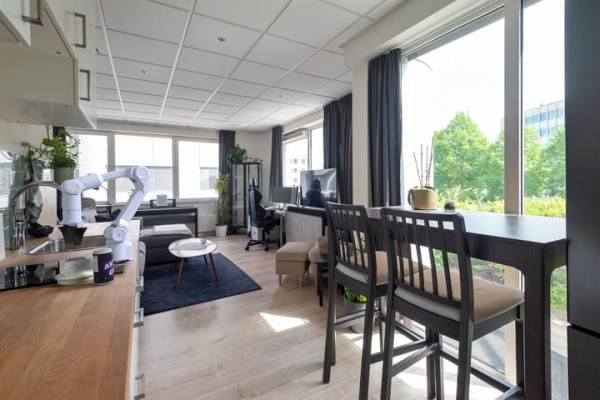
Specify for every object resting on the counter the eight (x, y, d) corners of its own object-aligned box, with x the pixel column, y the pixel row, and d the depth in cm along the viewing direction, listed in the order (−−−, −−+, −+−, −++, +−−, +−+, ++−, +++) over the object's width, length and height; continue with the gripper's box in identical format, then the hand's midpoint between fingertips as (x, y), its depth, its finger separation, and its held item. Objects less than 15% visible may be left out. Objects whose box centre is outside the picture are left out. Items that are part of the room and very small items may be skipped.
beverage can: (106, 286, 92) (104, 250, 92) (89, 286, 93) (87, 250, 92) (117, 280, 98) (116, 246, 97) (102, 280, 98) (100, 246, 98)
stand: (89, 272, 107) (89, 266, 107) (105, 277, 101) (104, 270, 101) (49, 282, 97) (49, 275, 97) (64, 288, 91) (63, 280, 90)
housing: (87, 269, 103) (86, 255, 103) (92, 271, 100) (92, 256, 100) (60, 275, 97) (59, 260, 96) (65, 277, 94) (64, 262, 94)
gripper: (51, 210, 109) (52, 244, 110) (67, 211, 102) (68, 248, 103) (73, 208, 116) (74, 241, 116) (89, 210, 108) (90, 244, 109)
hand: (73, 244), depth 110 cm, fingers open, 7 cm apart
